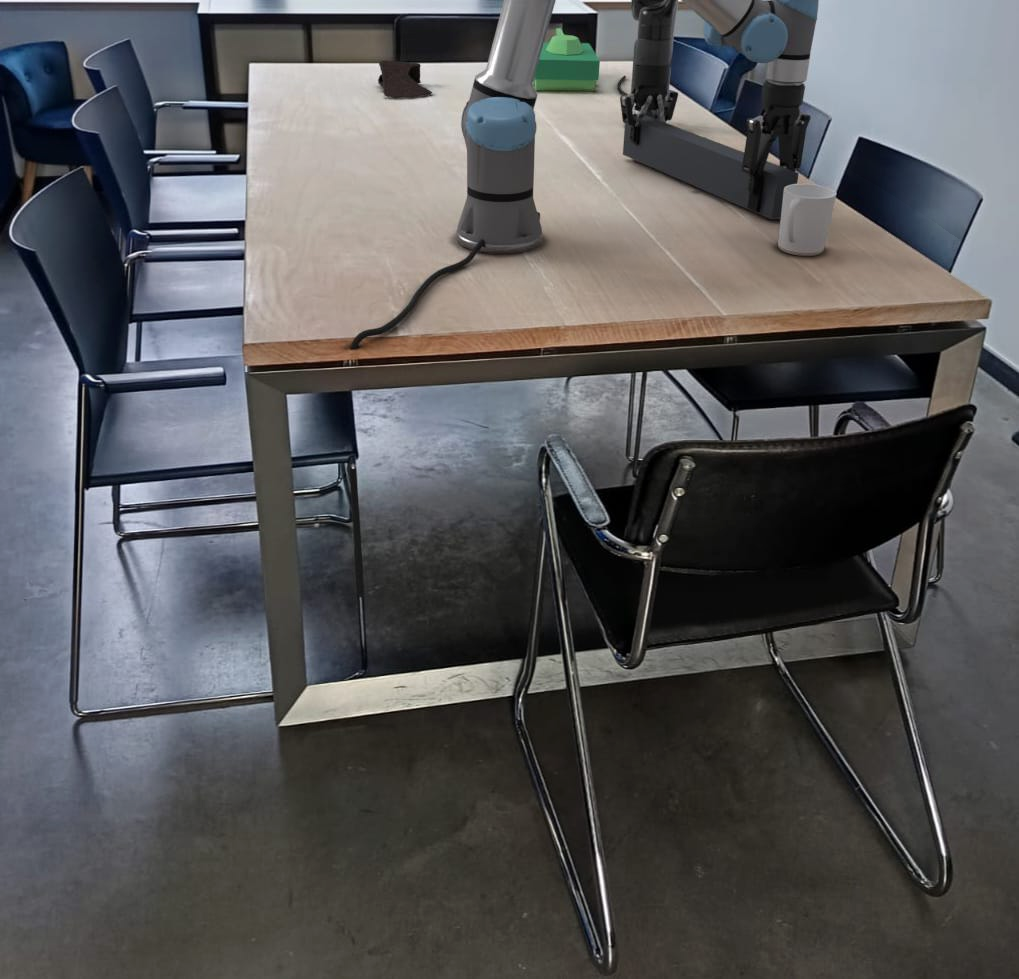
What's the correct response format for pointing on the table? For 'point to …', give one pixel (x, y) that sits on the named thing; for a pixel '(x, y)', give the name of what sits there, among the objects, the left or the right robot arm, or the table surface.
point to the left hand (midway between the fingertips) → (765, 207)
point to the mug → (805, 218)
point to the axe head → (401, 79)
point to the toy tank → (566, 64)
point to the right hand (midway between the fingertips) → (645, 142)
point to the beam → (706, 164)
